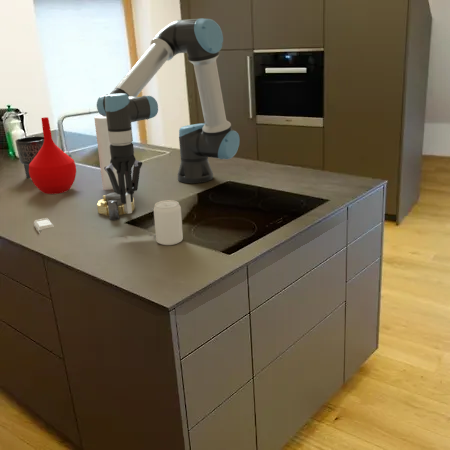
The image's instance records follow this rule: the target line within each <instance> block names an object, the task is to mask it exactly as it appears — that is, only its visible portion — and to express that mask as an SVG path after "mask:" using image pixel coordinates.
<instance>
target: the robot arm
mask: <svg viewBox="0 0 450 450" xmlns="http://www.w3.org/2000/svg"><path fill="white" fill-rule="evenodd" d="M223 43H224V36H223V31H222V29H221V27H220V25H219V24H218V23H217V22H216V21H215V20H214V19H211V18H203V17H201V18H190V19H177V20H174V21H172V22H170V23H169V24H167V25H166V26H165V27H163V28H162V29H161V30H159V32H158V33H157V34H155V36H153V38H152V39H151V40H150V46H149V48H147V50H146V51H145V52H144V54H143V55H141V57H140V58H139V59H138V60H137V62H135V64H134V65H133V66H132V68H131V69H130V70H129V71H128V72H127V74H126V75H125V76H124V77H123V78H122V79H121V80H120V82H119V83H118V84H117V85H116V86H115V87H114V89H113V90H112V91H111V92H110V93H109V94H102V95H100V96H99V97H98V98H97V102H96V110H97V112H98V114H100V115H102V116H105V117H106V118H107V126H108V135H109V143H111V144H110V154H111V161H110V164H109V165H108V166H107V167H104V169H105V171H106V172H107V173H108V175H109V178H110V181H111V184H112V187H113V189H112V190H113V193H117V194H120V196H121V203H122V204H124V212H126V214H133V211H132V207H131V202H133V198H134V196H133V195H134V193H135V192H137V191H138V187H139V179H140V172H141V168H142V167H143V162H142V161H139V160H137V158H136V157H135V149H134V143H133V141H134V140H133V139H134V138H133V130H132V129H133V127H132V123H135V122H140V121H145V120H147V121H149V120H150V119H152V118H153V119H154V118H155V117H156V116H157V115H158V112H159V105H158V101H157V100H156V98H154V96H152V95H142V96H139V95H140V94H141V92H142V91H143V90H144V89H145V87H146V86H147V85H148V84H149V82H151V80H152V79H153V78H154V76H155V75H156V74H157V73H158V71H160V69H161V68H162V66H164V65H165V63H166V62H167V61H168V62H169V61H171V60H172V59H173V58H174V57H175V56H177V55H179V54H186V55H187V59H188V62H189V63H191V64H193V69H194V74H195V80H196V83H197V84H196V85H197V89H198V93H199V99H200V100H199V101H200V105H201V110H202V115H203V119H204V122H203V123H195V124H188V125H184V126H181V127H180V128H179V130H178V142H179V152H180V153H179V155H180V164H179V167H178V171H177V181H179V182H181V183H186V184H201V183H205V182H206V183H207V182H210V181H212V180H213V178H214V173H213V170H212V167H211V164H210V162H209V158H212V159H219V160H231V159H233V158H234V156H235V155H236V154H237V152H238V149H239V146H240V141H241V140H240V135H239V133H238V132H237V131H236V130H234V129H233V127H232V123H231V122H230V121H229V120H227V117H226V116H227V115H226V110H225V105H224V98H223V93H222V92H223V91H222V88H221V82H220V76H219V72H218V71H219V70H218V64H217V59H218V57H219V56H220V51H221V50H222V48H223ZM113 167H114V168H115V169H116V170H117V174H118V183H119V186H118V183H117V180H116V177H115V174H114V172H113ZM132 168H133V169H132ZM124 175H125V179H124ZM125 181H126V189H125Z"/></svg>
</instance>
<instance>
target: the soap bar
mask: <svg viewBox="0 0 450 450" xmlns="http://www.w3.org/2000/svg"><path fill="white" fill-rule="evenodd" d="M33 227H34V229H36V232H37V233H38V234H39V235H41V232H42V231H43V230H45V229H49V228H54V227H55V226H54V224H53V223H52V222H51V221H50V219H49V218H48V217H44V218H39V219H35V220H34V221H33Z"/></svg>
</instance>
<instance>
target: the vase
mask: <svg viewBox="0 0 450 450" xmlns="http://www.w3.org/2000/svg"><path fill="white" fill-rule="evenodd" d="M40 118H41V119H40V120H41V127H42V133H43V137H44V143H43V146H42V147H41V149H40V150H39V152H38V153H37V155H36V156H35V157H34V159H33V160H32V161H31V163H30V164H29V175H30V179H31V181H32V183H33V185H34V186H35V187H36V188H37V189H38V190H39V191H40V192H41V193H42V194H45V195H57V194H58V195H59V194H63V193H66V192H68V191H69V190H70V189H71V188H72V186H73V184H74V183H75V180H76V175H77V166H76V162H75V159H73V158H72V157H71V156H69V155H68V154H67V153H66V152H64V151H63V150H62V148H60V147H59V146H58V145H57V144H56V143H55V142H54V139H53V138H52V131H51V125H50V120H49V117H40Z"/></svg>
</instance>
